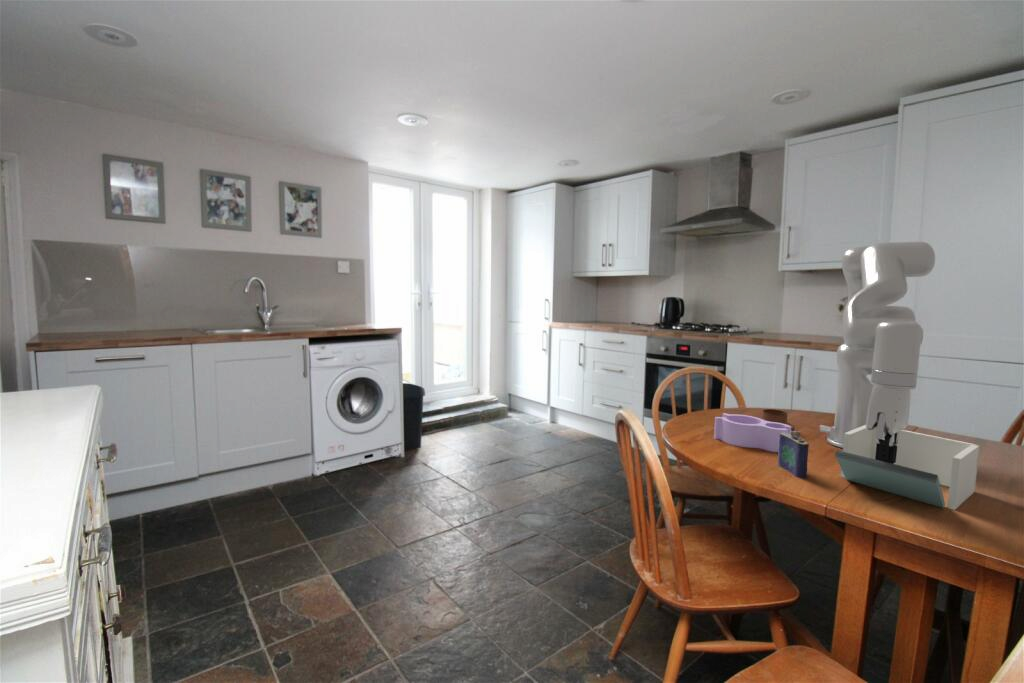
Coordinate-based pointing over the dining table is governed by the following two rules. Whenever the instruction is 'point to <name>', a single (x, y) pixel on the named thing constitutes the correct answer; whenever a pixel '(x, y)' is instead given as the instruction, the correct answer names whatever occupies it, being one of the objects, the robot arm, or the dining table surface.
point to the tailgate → (892, 478)
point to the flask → (793, 454)
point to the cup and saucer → (776, 417)
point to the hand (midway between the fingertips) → (885, 461)
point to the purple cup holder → (749, 431)
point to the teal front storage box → (926, 458)
